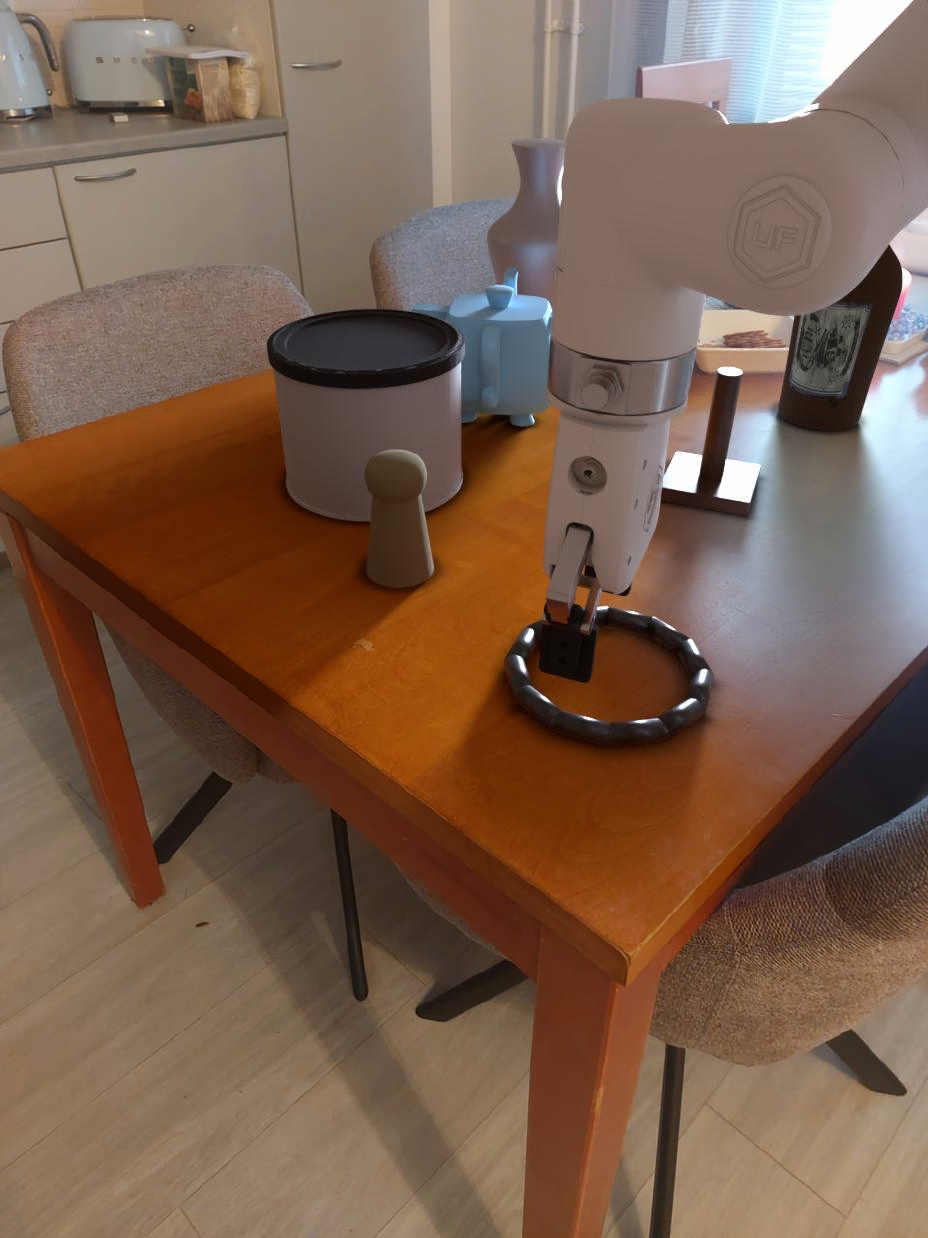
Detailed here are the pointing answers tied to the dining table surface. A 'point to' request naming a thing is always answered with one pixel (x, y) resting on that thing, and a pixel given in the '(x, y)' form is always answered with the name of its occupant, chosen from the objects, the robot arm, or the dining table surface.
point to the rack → (714, 459)
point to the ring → (614, 731)
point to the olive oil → (840, 351)
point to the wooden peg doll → (397, 520)
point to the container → (367, 403)
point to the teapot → (501, 350)
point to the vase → (531, 220)
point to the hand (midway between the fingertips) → (586, 629)
